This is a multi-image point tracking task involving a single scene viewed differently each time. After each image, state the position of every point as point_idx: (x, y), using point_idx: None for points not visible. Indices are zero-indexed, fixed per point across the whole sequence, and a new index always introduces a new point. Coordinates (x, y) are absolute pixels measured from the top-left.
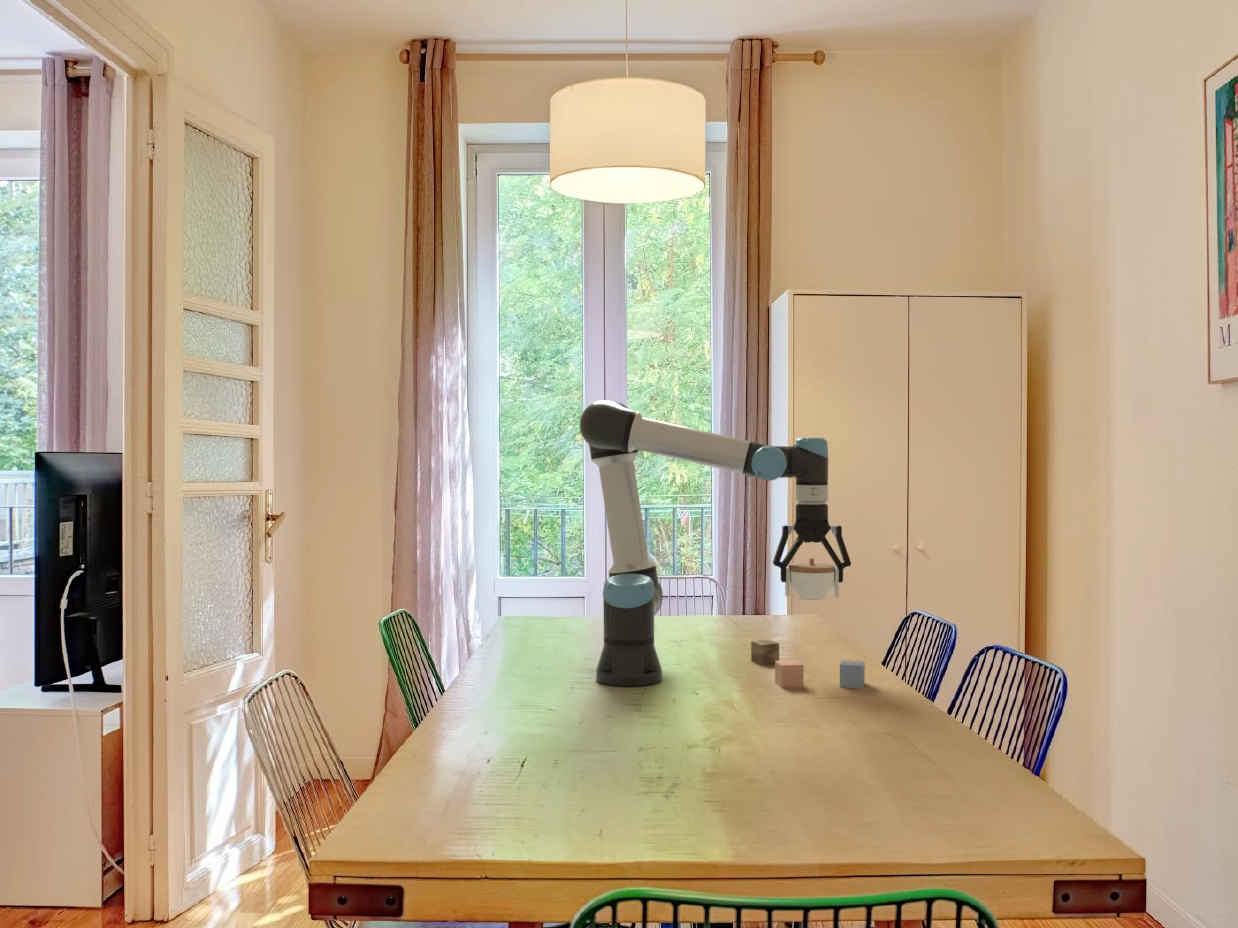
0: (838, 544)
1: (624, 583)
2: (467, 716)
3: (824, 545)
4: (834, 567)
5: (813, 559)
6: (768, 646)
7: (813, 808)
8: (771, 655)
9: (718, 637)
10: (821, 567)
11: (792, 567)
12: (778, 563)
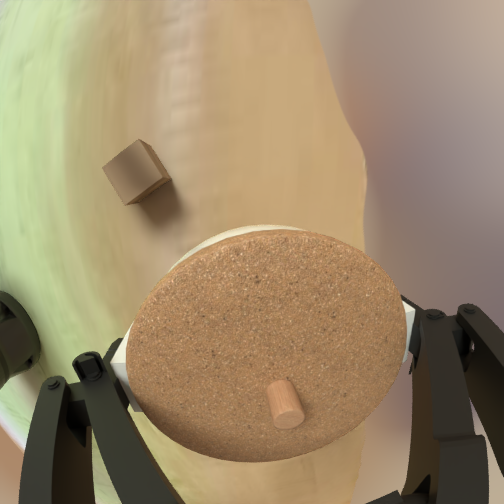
0: (501, 408)
1: None
2: (7, 425)
3: (404, 485)
4: (391, 381)
5: (299, 421)
6: (140, 194)
7: None
8: (152, 189)
9: (82, 10)
10: (319, 443)
11: (166, 433)
12: (88, 427)
